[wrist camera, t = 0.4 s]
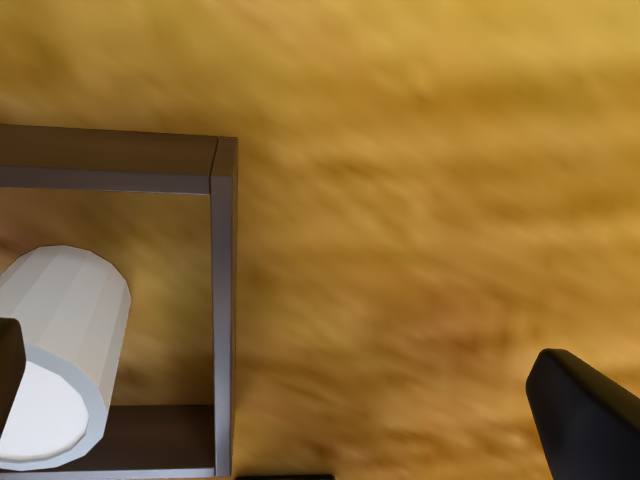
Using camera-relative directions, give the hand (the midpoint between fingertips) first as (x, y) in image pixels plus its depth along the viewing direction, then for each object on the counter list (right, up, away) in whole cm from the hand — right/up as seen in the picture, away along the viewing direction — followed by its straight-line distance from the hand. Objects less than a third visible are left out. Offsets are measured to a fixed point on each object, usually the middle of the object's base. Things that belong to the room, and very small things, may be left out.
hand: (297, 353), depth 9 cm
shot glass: (-12, -1, +16) cm, 19 cm away
